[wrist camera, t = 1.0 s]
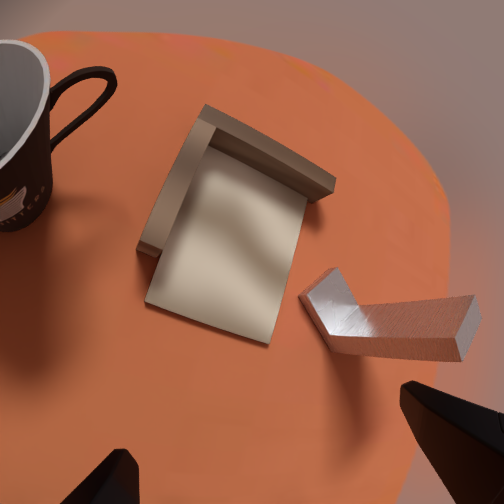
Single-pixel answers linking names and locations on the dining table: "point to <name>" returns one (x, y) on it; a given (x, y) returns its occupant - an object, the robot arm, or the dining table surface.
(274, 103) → the dining table surface
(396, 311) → the bracket
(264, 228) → the corner fixture
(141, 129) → the dining table surface
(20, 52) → the coffee mug
